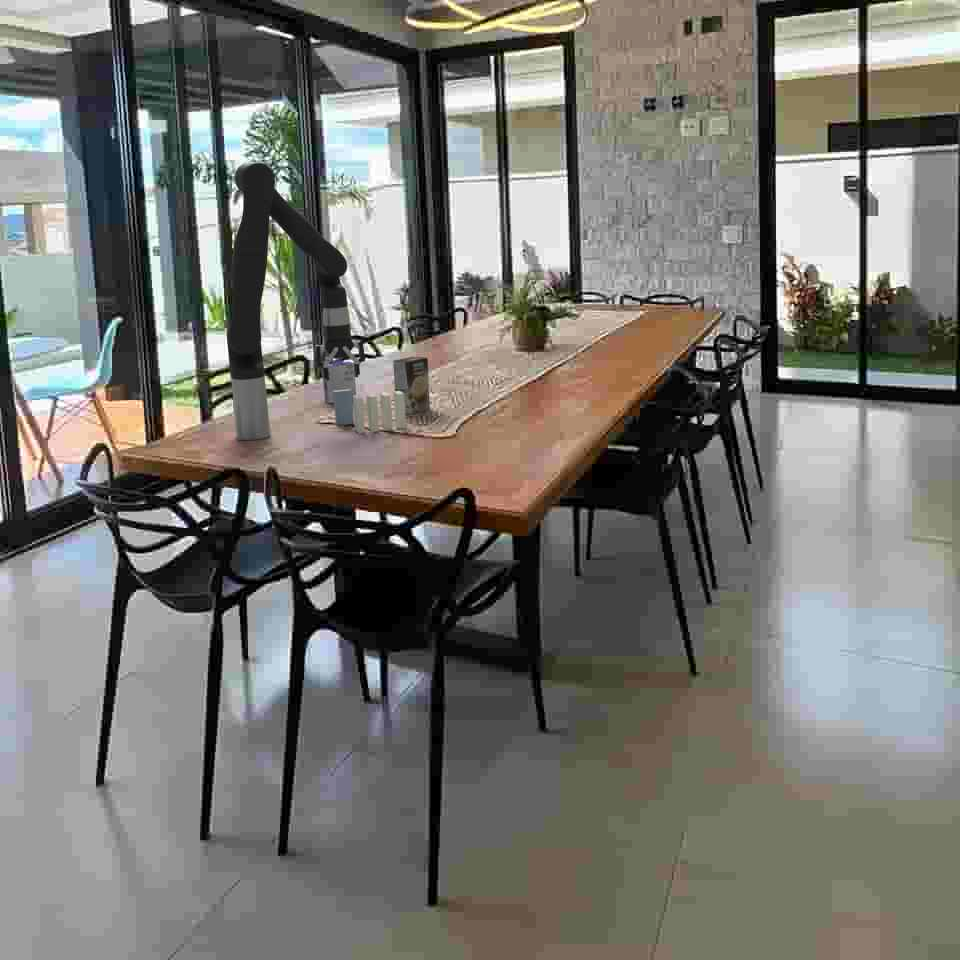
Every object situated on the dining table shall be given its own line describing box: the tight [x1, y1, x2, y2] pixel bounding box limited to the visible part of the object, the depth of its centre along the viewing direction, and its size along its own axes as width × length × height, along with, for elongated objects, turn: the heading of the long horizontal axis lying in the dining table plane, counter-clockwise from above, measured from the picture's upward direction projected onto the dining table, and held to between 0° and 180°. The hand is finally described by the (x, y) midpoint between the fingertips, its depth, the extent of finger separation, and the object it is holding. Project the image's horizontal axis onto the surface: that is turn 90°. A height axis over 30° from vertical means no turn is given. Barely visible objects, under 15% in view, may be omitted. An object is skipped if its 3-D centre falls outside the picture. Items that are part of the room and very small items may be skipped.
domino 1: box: [352, 394, 366, 434], centre depth 311 cm, size 2×5×10 cm, turn 18°
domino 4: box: [393, 390, 407, 429], centre depth 315 cm, size 2×5×10 cm, turn 18°
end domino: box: [333, 389, 355, 426], centre depth 322 cm, size 2×5×10 cm, turn 108°
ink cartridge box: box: [321, 358, 357, 404], centre depth 356 cm, size 10×6×14 cm, turn 115°
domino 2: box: [365, 393, 380, 433], centre depth 312 cm, size 2×5×10 cm, turn 18°
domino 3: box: [379, 391, 394, 431], centre depth 314 cm, size 2×5×10 cm, turn 18°
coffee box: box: [392, 356, 431, 415], centre depth 335 cm, size 9×6×16 cm
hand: (342, 378), depth 319 cm, fingers open, 8 cm apart
